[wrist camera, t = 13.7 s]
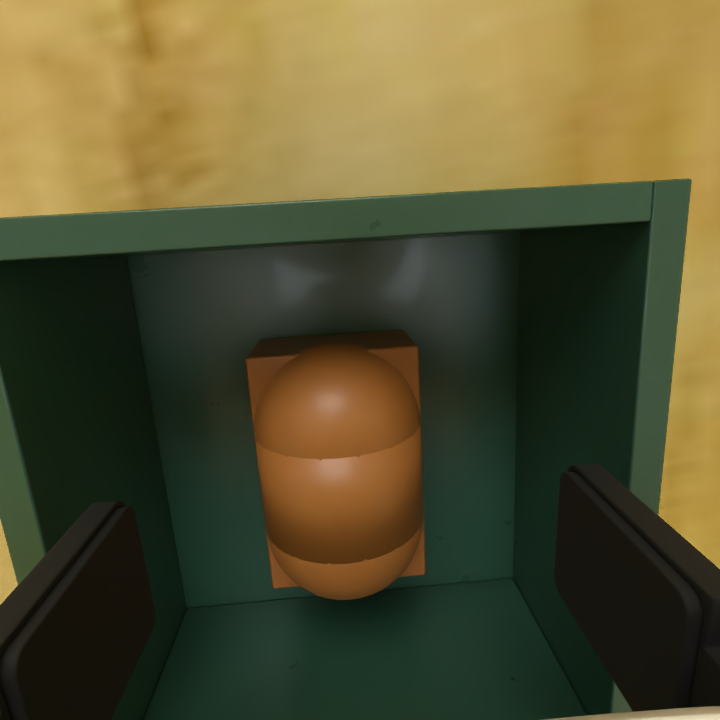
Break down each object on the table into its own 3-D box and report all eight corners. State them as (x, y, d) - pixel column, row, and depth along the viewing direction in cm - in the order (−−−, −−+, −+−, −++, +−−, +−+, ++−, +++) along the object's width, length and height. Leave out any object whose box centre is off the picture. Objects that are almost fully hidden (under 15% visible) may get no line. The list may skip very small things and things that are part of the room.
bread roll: (258, 333, 17) (227, 370, 12) (403, 323, 17) (434, 355, 12) (282, 541, 19) (264, 649, 14) (411, 529, 19) (440, 632, 14)
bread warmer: (108, 233, 16) (-81, 222, 9) (533, 208, 17) (692, 178, 10) (176, 611, 20) (82, 830, 13) (523, 578, 21) (633, 768, 13)
